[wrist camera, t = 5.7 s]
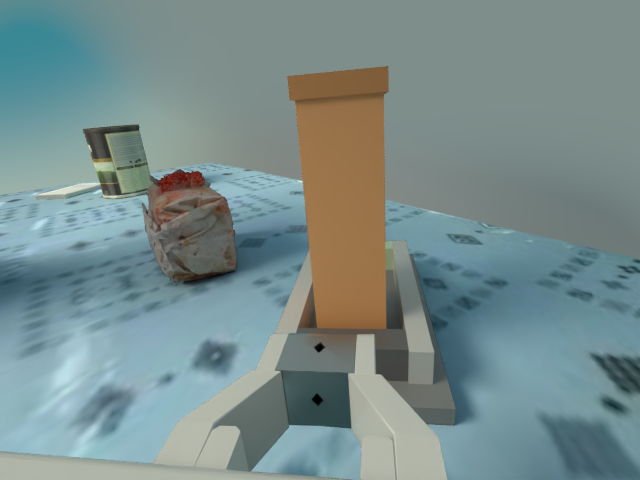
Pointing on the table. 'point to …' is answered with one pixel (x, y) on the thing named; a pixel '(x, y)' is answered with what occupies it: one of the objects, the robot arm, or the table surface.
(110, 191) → the coffee can
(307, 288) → the grey flat rectangular frame
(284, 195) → the table surface
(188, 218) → the food item
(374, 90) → the lever
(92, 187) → the external hard drive
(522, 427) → the table surface
